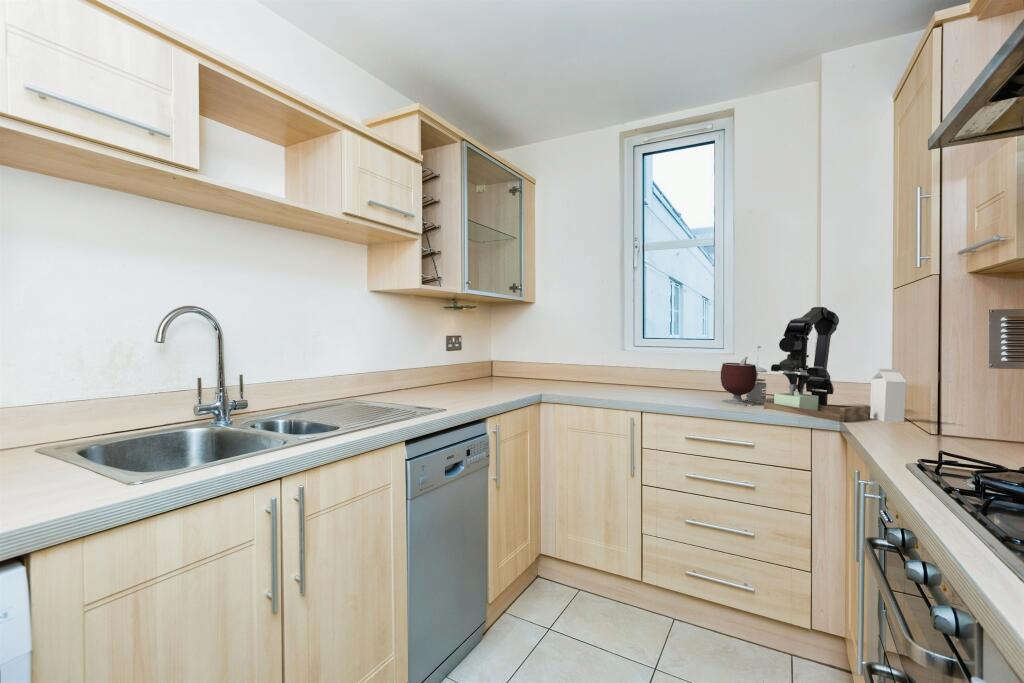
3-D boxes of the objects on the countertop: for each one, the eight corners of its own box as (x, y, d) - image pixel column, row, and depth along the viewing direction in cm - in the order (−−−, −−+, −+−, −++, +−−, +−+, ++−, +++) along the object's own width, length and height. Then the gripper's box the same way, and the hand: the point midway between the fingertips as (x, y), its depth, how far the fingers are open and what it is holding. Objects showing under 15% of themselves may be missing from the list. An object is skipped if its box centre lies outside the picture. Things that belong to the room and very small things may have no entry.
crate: (792, 407, 193) (793, 382, 193) (817, 411, 185) (819, 385, 184) (773, 408, 188) (775, 383, 187) (799, 413, 179) (800, 386, 179)
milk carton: (904, 424, 167) (907, 370, 167) (883, 423, 168) (886, 369, 167) (888, 420, 175) (891, 368, 174) (869, 419, 175) (871, 367, 174)
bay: (789, 407, 197) (790, 394, 197) (869, 421, 171) (870, 406, 170) (763, 409, 189) (764, 396, 189) (843, 424, 163) (844, 408, 163)
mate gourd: (747, 407, 194) (750, 358, 193) (713, 402, 204) (716, 356, 203) (761, 403, 205) (763, 357, 204) (728, 399, 215) (730, 355, 214)
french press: (744, 401, 211) (747, 345, 210) (742, 397, 222) (744, 344, 221) (769, 403, 207) (772, 346, 206) (765, 399, 218) (768, 345, 217)
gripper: (762, 350, 190) (761, 389, 190) (810, 353, 173) (808, 396, 174) (780, 350, 195) (778, 388, 196) (828, 353, 179) (826, 394, 179)
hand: (796, 391), depth 186 cm, fingers closed on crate, 2 cm apart
